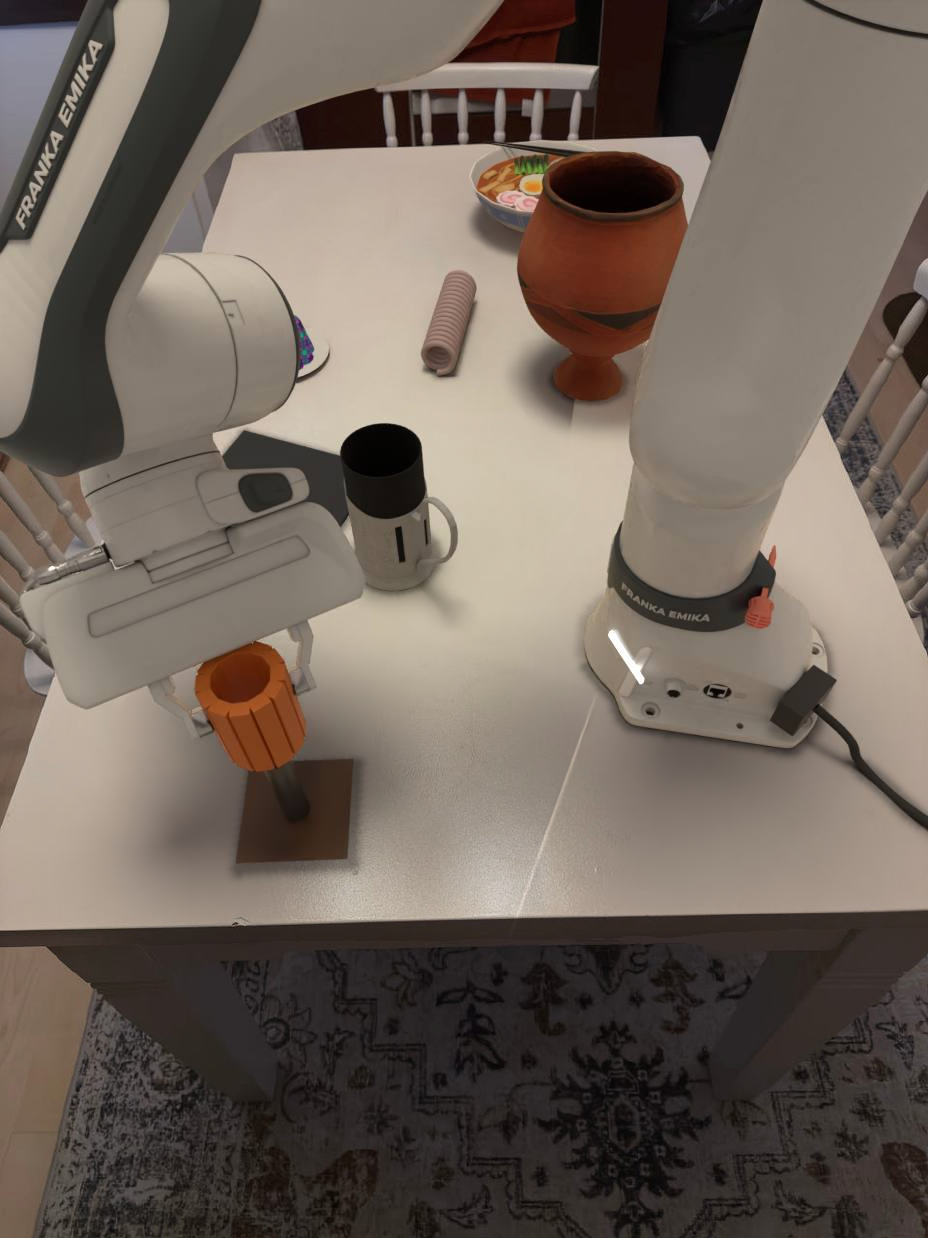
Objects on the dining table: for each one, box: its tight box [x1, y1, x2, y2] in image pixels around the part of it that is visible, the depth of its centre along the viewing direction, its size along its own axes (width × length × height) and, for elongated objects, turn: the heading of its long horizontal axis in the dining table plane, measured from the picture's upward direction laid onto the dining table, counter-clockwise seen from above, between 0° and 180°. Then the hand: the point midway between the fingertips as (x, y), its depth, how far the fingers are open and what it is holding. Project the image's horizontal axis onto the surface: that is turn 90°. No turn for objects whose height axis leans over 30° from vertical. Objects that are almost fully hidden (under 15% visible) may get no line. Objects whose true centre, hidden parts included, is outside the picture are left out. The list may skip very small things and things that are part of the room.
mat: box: [222, 429, 349, 528], centre depth 93 cm, size 18×18×1 cm
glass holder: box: [339, 422, 459, 592], centre depth 81 cm, size 9×14×15 cm, turn 43°
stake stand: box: [235, 758, 354, 864], centre depth 66 cm, size 9×9×10 cm
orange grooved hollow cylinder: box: [194, 640, 307, 772], centre depth 57 cm, size 6×6×8 cm
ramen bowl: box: [468, 139, 600, 234], centre depth 126 cm, size 25×23×8 cm
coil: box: [420, 269, 477, 376], centre depth 110 cm, size 5×5×18 cm
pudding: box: [294, 314, 330, 378], centre depth 108 cm, size 12×12×5 cm
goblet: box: [516, 150, 689, 402], centre depth 95 cm, size 19×19×25 cm
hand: (256, 712), depth 56 cm, fingers closed on orange grooved hollow cylinder, 6 cm apart
